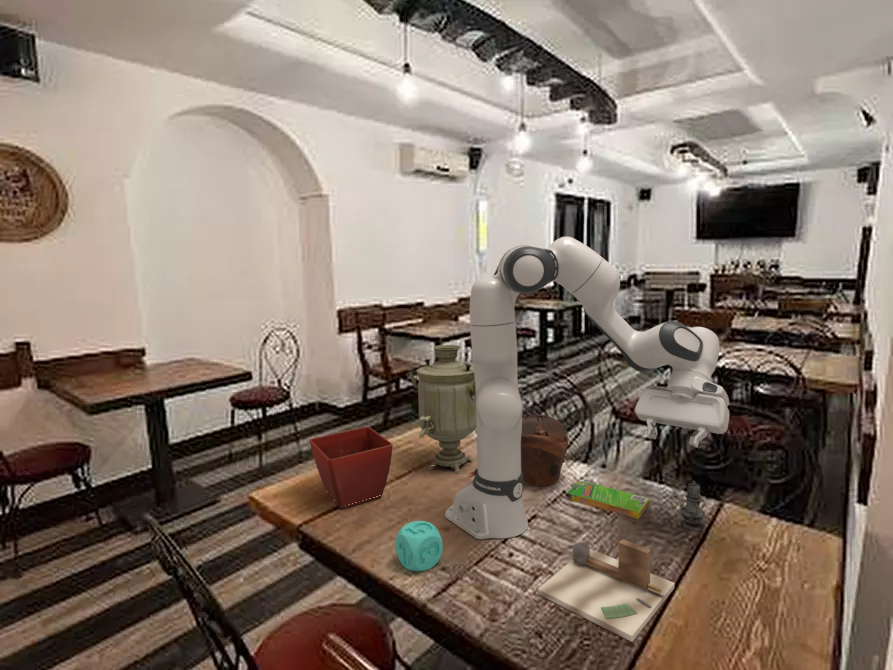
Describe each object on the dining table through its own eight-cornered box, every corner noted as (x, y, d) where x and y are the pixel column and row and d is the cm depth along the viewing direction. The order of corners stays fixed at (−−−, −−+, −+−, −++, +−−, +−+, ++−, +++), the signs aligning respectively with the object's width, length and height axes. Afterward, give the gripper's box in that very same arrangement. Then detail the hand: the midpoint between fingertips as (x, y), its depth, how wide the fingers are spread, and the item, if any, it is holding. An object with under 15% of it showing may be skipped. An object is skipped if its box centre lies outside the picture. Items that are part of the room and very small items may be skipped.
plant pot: (332, 518, 140) (328, 459, 138) (312, 492, 157) (308, 438, 154) (396, 499, 150) (394, 444, 147) (371, 476, 166) (368, 426, 164)
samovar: (384, 466, 174) (378, 349, 168) (442, 445, 191) (438, 338, 185) (444, 494, 152) (440, 360, 146) (503, 467, 170) (501, 347, 164)
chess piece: (708, 532, 127) (710, 486, 126) (682, 530, 129) (684, 484, 127) (701, 519, 133) (703, 475, 131) (677, 518, 134) (678, 474, 132)
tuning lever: (569, 560, 115) (569, 526, 113) (578, 553, 117) (578, 520, 116) (657, 597, 101) (658, 560, 100) (664, 589, 104) (665, 552, 103)
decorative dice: (395, 560, 120) (394, 528, 119) (423, 547, 125) (422, 516, 124) (414, 576, 114) (413, 542, 113) (443, 562, 119) (442, 530, 117)
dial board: (537, 594, 106) (537, 588, 106) (586, 552, 121) (586, 546, 120) (632, 642, 93) (632, 635, 93) (674, 588, 107) (674, 582, 107)
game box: (638, 523, 135) (564, 499, 147) (649, 508, 143) (578, 486, 155) (639, 512, 134) (565, 489, 146) (650, 498, 142) (579, 477, 154)
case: (532, 497, 148) (532, 436, 146) (498, 471, 167) (497, 417, 164) (582, 485, 155) (584, 427, 153) (544, 462, 174) (545, 410, 171)
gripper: (640, 377, 129) (623, 427, 124) (730, 388, 114) (715, 444, 109) (648, 390, 133) (632, 439, 127) (736, 402, 118) (722, 457, 113)
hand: (671, 441), depth 118 cm, fingers open, 8 cm apart
